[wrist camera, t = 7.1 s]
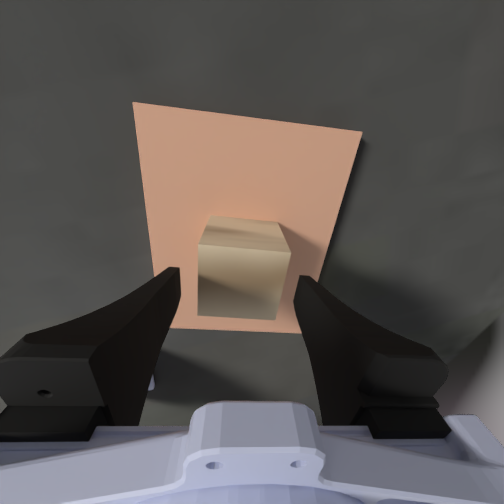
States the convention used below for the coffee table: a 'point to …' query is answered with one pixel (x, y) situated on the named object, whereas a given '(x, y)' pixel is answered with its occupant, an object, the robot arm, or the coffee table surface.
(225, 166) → the terracotta tile
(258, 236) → the maple cube
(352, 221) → the coffee table surface
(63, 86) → the coffee table surface
